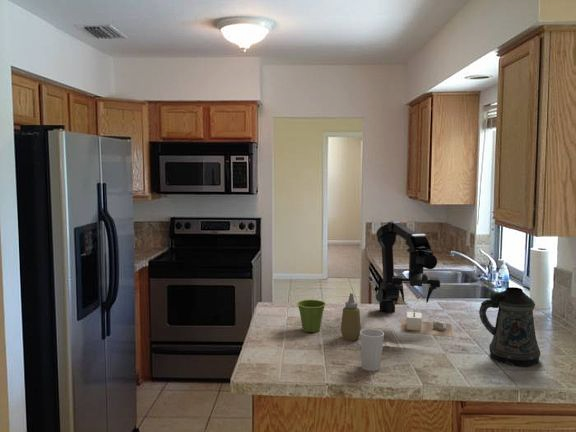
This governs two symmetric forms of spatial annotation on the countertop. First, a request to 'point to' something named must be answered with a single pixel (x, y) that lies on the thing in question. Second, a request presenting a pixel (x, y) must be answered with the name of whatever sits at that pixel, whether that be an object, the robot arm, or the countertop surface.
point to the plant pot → (311, 314)
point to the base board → (428, 329)
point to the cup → (371, 349)
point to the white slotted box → (414, 321)
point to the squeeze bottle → (351, 320)
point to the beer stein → (512, 328)
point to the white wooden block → (439, 325)
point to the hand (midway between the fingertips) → (415, 302)
